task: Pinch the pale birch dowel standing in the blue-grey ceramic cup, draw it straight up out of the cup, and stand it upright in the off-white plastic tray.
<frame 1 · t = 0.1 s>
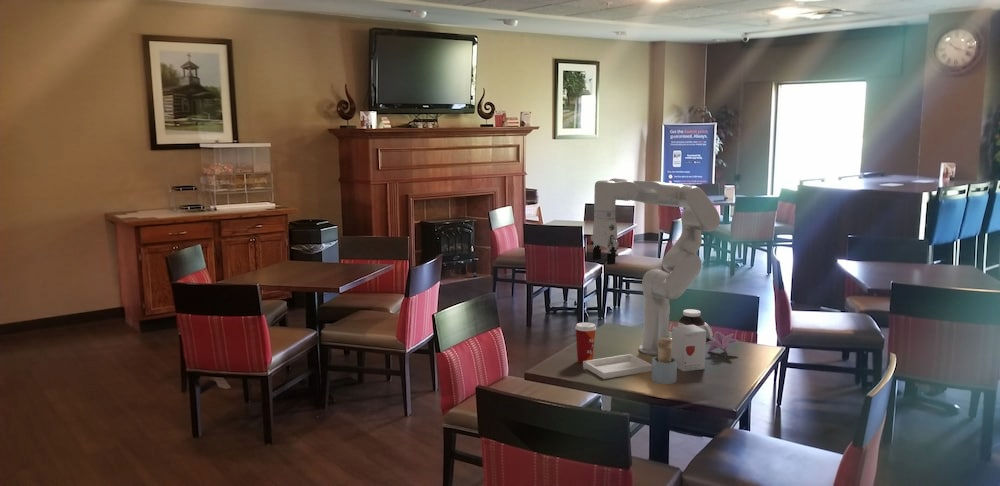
hand: (603, 261, 264), 37 cm above the table, tool pointing down, fingers open, 9 cm apart
tray: (617, 371, 257), on the table
supplement box: (687, 369, 259), on the table
cup: (663, 382, 245), on the table
spread jar: (695, 339, 295), on the table
dowel: (663, 379, 245), point 1 cm above the table, touching cup
paper cup: (585, 362, 268), on the table
lily: (721, 355, 275), on the table
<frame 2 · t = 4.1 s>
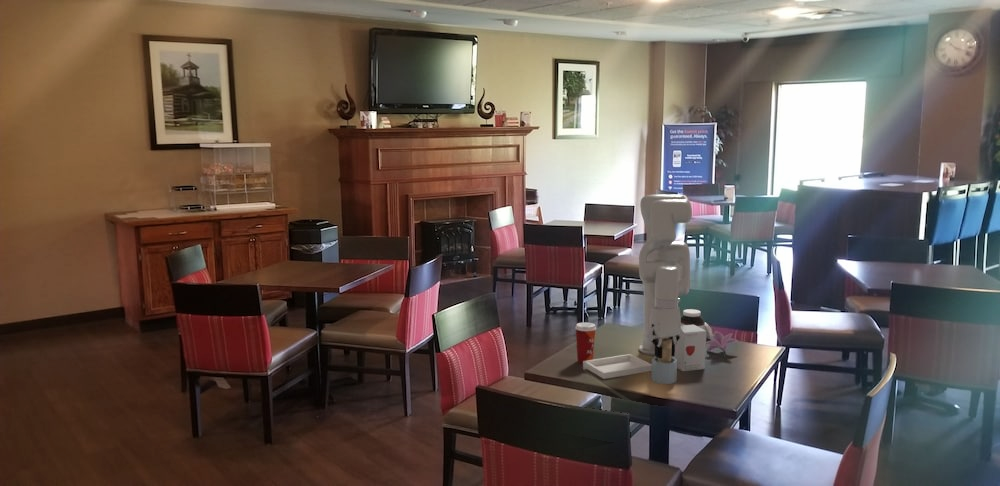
hand: (664, 355, 244), 9 cm above the table, tool pointing down, fingers closed on dowel, 4 cm apart
dowel: (663, 379, 245), point 1 cm above the table, touching cup, gripper
everything else where it was.
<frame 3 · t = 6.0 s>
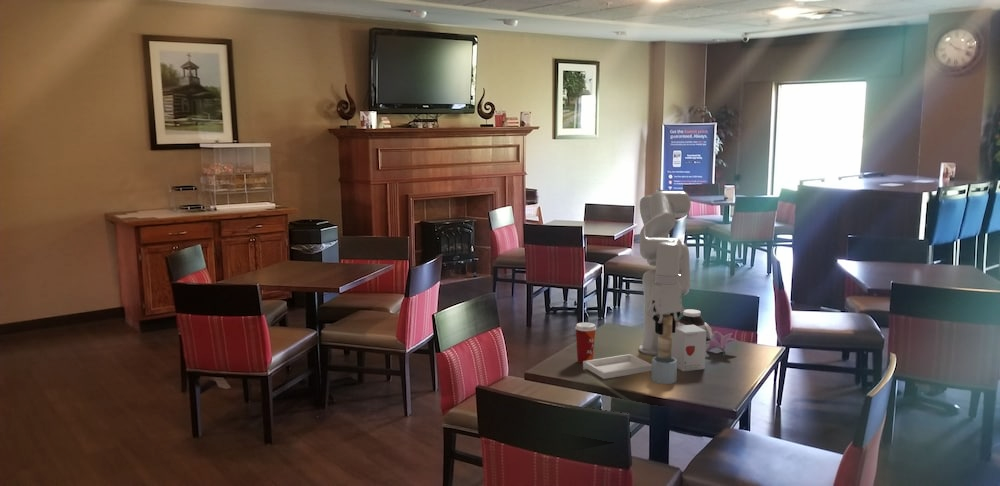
hand: (665, 332, 243), 17 cm above the table, tool pointing down, fingers closed on dowel, 4 cm apart
dowel: (664, 356, 244), point 9 cm above the table, touching gripper
everything else where it was.
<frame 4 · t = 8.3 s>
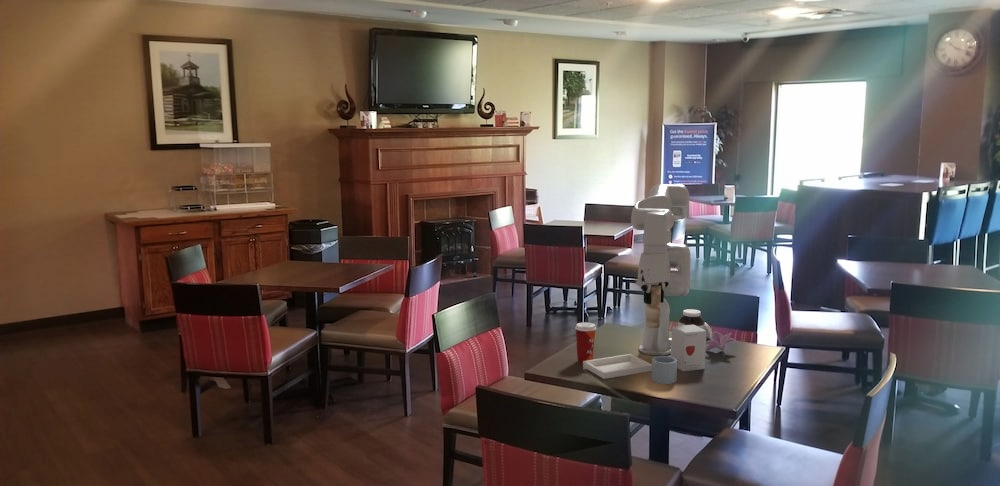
hand: (653, 302, 244), 27 cm above the table, tool pointing down, fingers closed on dowel, 4 cm apart
dowel: (653, 326, 246), point 19 cm above the table, touching gripper
everything else where it was.
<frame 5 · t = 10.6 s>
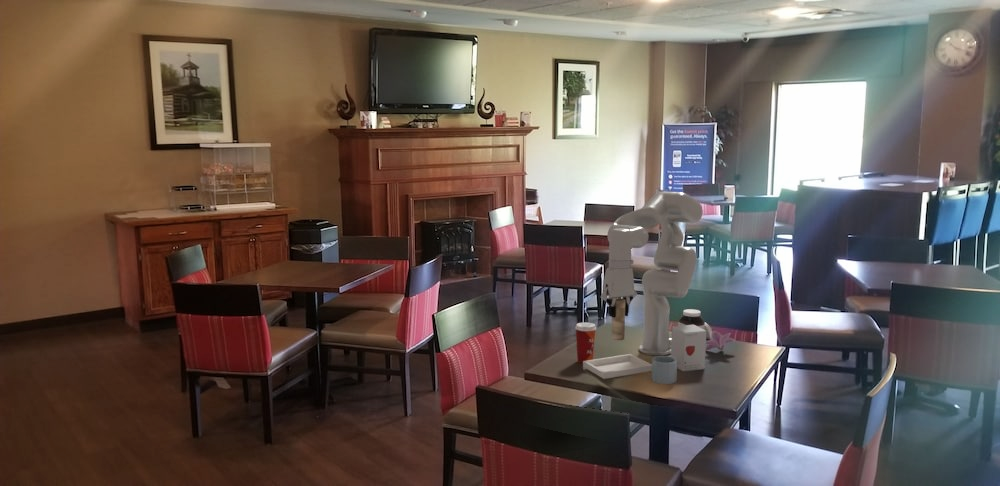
hand: (618, 315, 253), 20 cm above the table, tool pointing down, fingers closed on dowel, 4 cm apart
dowel: (617, 338, 255), point 12 cm above the table, touching gripper
when the fingers open (10 cm above the table, at t = 12.7 s): dowel stays where it is, resting on tray.
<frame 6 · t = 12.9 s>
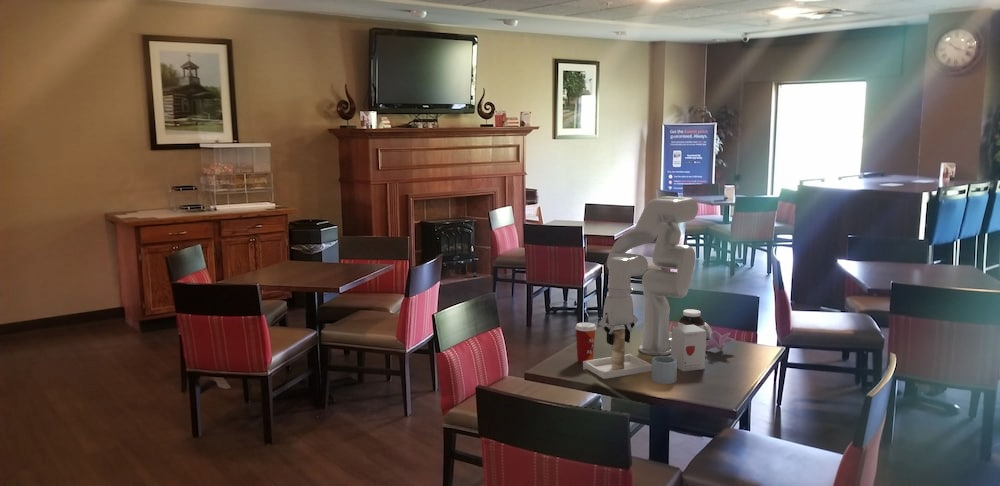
hand: (618, 342, 255), 11 cm above the table, tool pointing down, fingers open, 6 cm apart
dowel: (617, 368, 257), point 1 cm above the table, touching tray
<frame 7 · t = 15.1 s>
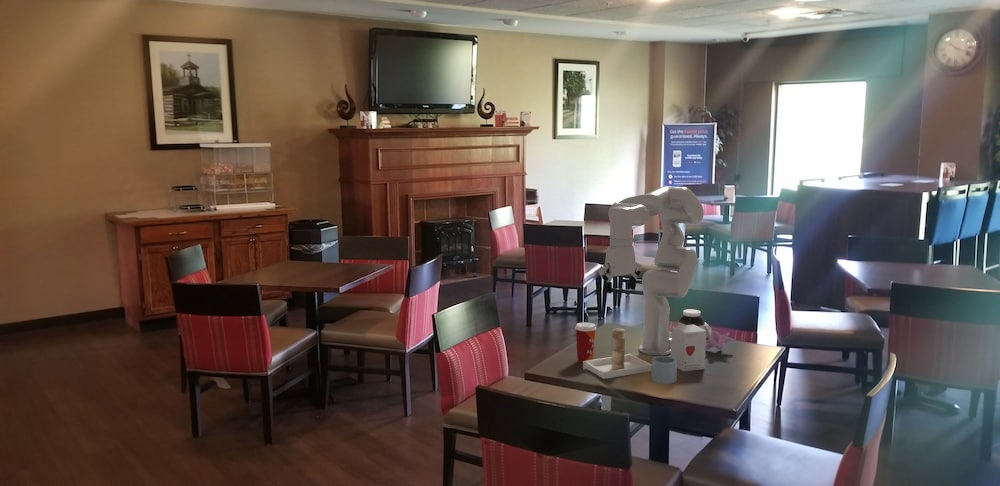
hand: (620, 291, 253), 29 cm above the table, tool pointing down, fingers open, 9 cm apart
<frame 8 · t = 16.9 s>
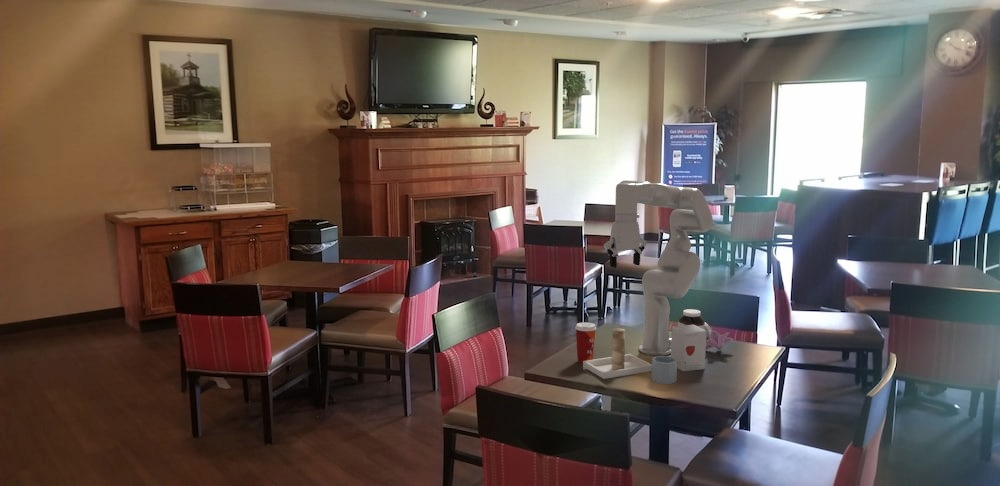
hand: (624, 265, 259), 36 cm above the table, tool pointing down, fingers open, 9 cm apart
at the end: dowel inside the target area on the tray (0.1 cm from its centre), point 1.0 cm above the tray's base; dowel tilted 0°; the gripper is holding nothing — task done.
